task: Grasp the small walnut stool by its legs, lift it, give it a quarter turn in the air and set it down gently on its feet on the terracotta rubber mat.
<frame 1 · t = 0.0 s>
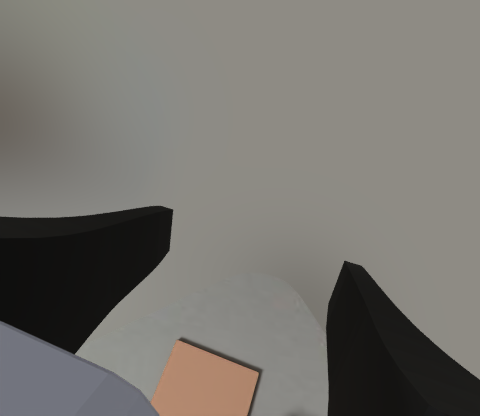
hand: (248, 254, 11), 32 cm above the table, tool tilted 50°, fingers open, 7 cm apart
mat: (199, 405, 36), on the table
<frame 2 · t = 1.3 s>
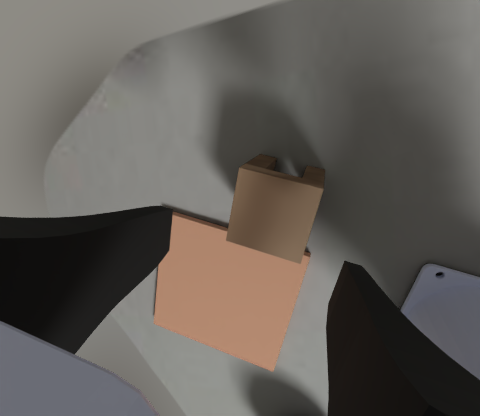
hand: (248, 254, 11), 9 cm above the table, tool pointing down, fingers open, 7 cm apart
mat: (222, 291, 24), on the table
stool: (284, 192, 20), on the table
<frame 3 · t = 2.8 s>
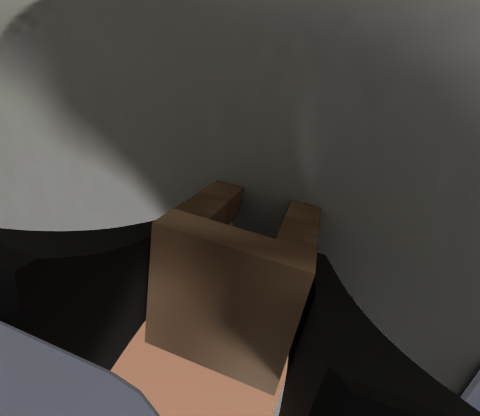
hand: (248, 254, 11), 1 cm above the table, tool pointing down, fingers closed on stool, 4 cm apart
mat: (176, 368, 17), on the table
stool: (256, 240, 13), on the table, touching gripper
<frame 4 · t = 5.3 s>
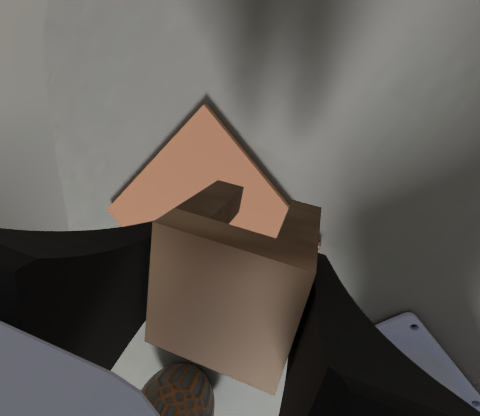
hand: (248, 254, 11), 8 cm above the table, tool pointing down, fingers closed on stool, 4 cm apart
mat: (205, 223, 21), on the table
stool: (256, 239, 13), point 7 cm above the table, touching gripper
vase: (191, 377, 28), on the table
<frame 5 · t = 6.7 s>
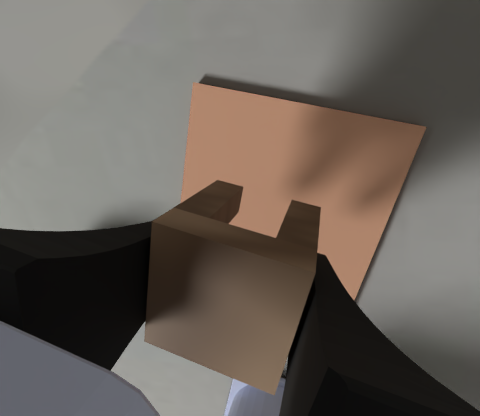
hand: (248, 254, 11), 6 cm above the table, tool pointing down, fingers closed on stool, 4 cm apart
mat: (275, 206, 17), on the table
stool: (256, 239, 13), point 5 cm above the table, touching gripper
when the fingers open (3 cm above the table, at t = 7.9 s): stool stays where it is, resting on mat.
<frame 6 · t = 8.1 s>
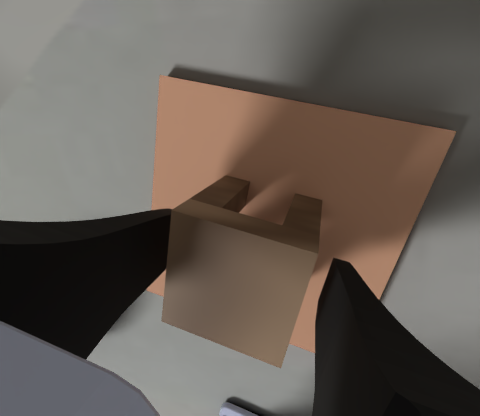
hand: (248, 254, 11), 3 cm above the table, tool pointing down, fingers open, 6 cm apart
mat: (264, 226, 14), on the table
stool: (262, 231, 13), point 1 cm above the table, touching mat
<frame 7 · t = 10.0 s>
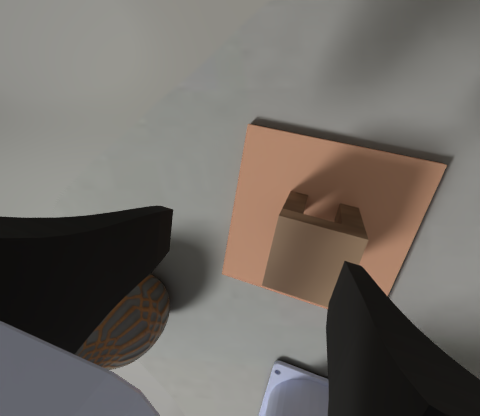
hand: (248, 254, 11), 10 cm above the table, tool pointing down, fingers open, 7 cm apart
mat: (314, 226, 20), on the table
stool: (314, 229, 19), point 1 cm above the table, touching mat
vase: (150, 289, 27), on the table
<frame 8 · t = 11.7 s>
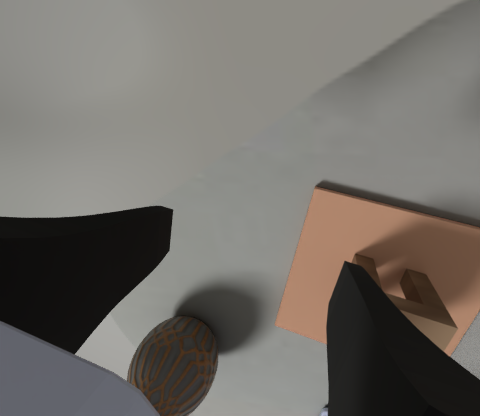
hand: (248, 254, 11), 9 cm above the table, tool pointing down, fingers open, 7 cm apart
mat: (375, 285, 20), on the table
stool: (377, 290, 20), point 1 cm above the table, touching mat
vase: (194, 332, 27), on the table
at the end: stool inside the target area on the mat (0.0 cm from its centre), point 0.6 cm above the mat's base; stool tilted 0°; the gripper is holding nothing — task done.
